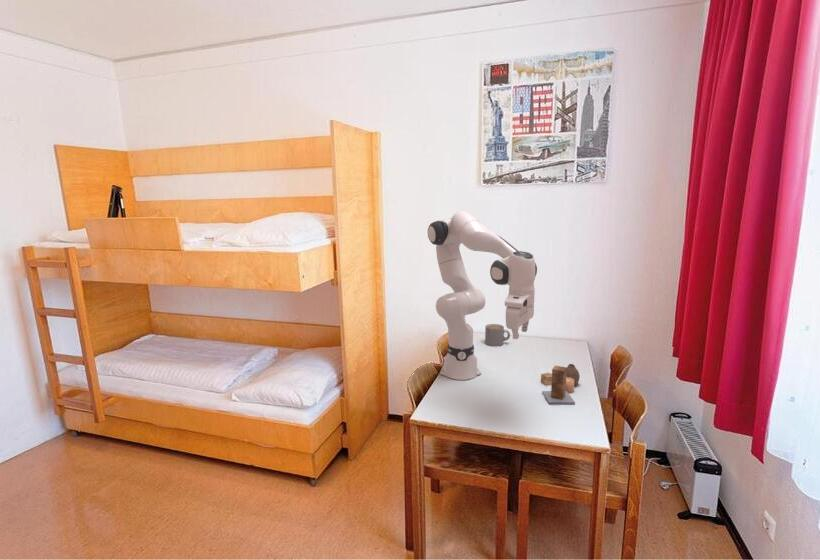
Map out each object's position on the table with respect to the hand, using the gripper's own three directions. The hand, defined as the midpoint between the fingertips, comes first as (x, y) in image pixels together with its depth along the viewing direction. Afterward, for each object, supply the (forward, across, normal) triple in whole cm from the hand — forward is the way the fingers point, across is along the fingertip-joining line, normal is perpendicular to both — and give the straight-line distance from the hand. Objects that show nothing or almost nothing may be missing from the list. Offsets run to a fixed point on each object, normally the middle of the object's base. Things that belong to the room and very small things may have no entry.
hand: (520, 334), depth 155 cm
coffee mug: (+31, -72, -36) cm, 86 cm away
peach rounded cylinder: (+31, -31, +11) cm, 45 cm away
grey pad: (+31, -21, +10) cm, 39 cm away
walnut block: (+30, -21, +10) cm, 38 cm away
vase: (+31, -38, +11) cm, 50 cm away
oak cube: (+31, -34, +2) cm, 46 cm away
